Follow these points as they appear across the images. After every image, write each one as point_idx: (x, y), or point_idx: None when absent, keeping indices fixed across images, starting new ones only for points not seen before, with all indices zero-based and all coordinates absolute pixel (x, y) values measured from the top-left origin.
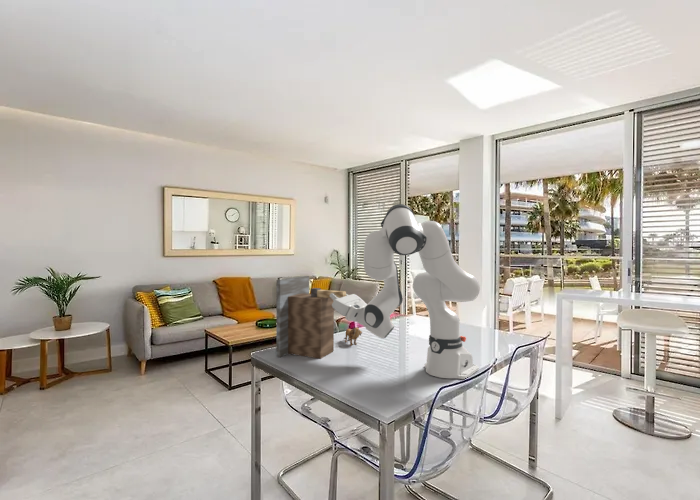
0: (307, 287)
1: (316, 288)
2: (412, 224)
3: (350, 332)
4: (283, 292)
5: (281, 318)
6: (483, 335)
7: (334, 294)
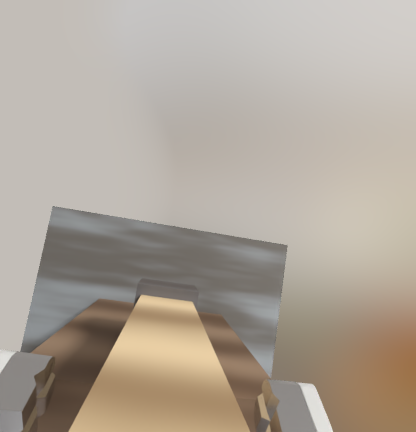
0: (266, 296)
1: (173, 285)
2: None
3: None
4: (65, 269)
5: None
6: None
7: (4, 394)
